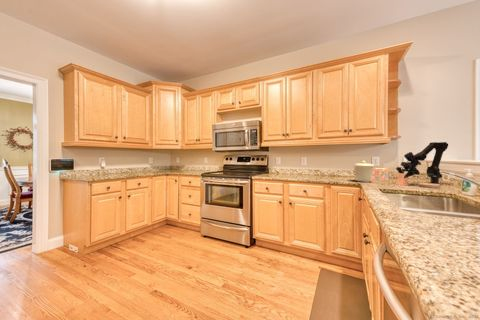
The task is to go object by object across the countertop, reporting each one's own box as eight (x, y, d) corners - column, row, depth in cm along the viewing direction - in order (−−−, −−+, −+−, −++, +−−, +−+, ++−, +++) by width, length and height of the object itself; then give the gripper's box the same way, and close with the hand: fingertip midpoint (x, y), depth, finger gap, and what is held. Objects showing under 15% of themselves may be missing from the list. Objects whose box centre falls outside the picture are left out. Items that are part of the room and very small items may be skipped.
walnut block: (421, 186, 180) (421, 182, 180) (440, 187, 171) (440, 184, 171) (418, 187, 173) (418, 184, 173) (437, 189, 163) (437, 185, 163)
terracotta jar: (402, 183, 190) (402, 173, 190) (409, 185, 183) (410, 173, 183) (395, 184, 189) (395, 173, 189) (402, 185, 182) (402, 174, 182)
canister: (378, 182, 199) (378, 160, 198) (359, 182, 199) (359, 161, 198) (367, 180, 217) (367, 160, 216) (349, 180, 217) (350, 160, 216)
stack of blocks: (365, 179, 222) (366, 168, 222) (363, 179, 229) (364, 168, 228) (388, 180, 217) (388, 168, 217) (385, 179, 223) (386, 168, 223)
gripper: (397, 158, 195) (387, 170, 194) (417, 159, 176) (405, 172, 175) (405, 166, 196) (394, 178, 195) (425, 168, 178) (413, 181, 177)
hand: (401, 177), depth 186 cm, fingers closed on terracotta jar, 6 cm apart
